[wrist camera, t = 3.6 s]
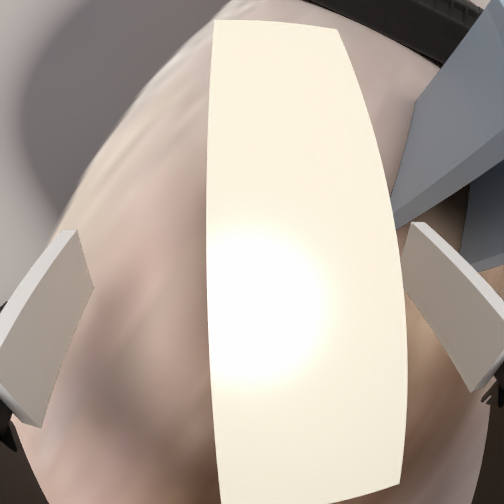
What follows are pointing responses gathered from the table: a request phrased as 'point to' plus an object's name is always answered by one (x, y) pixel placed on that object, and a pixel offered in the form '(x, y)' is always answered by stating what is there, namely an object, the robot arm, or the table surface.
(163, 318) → the table surface
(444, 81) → the housing
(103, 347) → the table surface
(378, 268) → the tile
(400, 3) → the magazine
